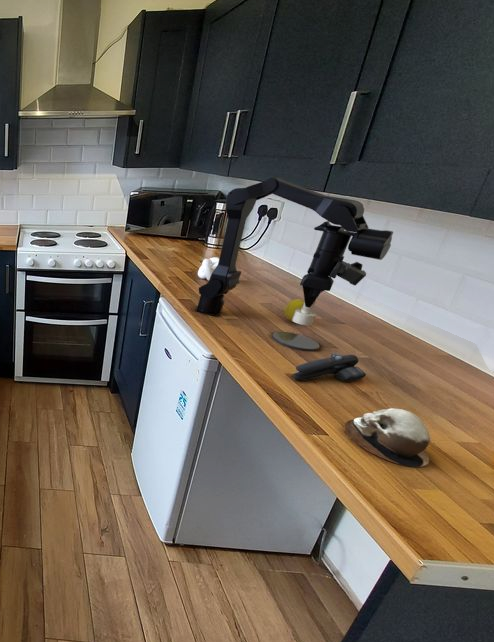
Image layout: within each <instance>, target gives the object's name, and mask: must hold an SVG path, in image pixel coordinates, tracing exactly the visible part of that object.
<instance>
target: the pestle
mask: <svg viewBox="0 0 494 642" xmlns="http://www.w3.org/2000/svg"><path fill="white" fill-rule="evenodd" d="M318 298H319V296H318V297H317V299H316V300H315V301H314V303H313V304H312V306H311V307H310V308H309V307H305V300H303V301H304V304H303V306H302V309H301V310H300V309H299V310H296V311H295V314H294V316H293V319H292V321H293V322H292V323H295V324H296V325H297V324H298V325H301V326H305V327H307V326H313V323H314V322H315V318H316V316H317V314H316V312H313V310H314V307H315V305H316V303H317V300H318Z"/></svg>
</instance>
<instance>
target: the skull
mask: <svg viewBox="0 0 494 642" xmlns="http://www.w3.org/2000/svg"><path fill="white" fill-rule="evenodd" d="M344 430H345V433H346V434H347V435H348V437H349V438H350V439H351V440H352V441H353V442H355V444H357V445H359V447H361V448H362V449H364V450H366V451H367V452H369V453H370V454H373V455H375V456H377V457H379V458H381V459H384V460H387V461H388V462H392V463H395V464H398V465H400V466H405V467H409V468H410V467H411V468H419V467H425V466H427V465H429V463H430V456H429V454H428V453H427V451H426V449H428V446H429V444H431V443H430V442H431V436H430V432H429V429H428V428H427V426H426V425H425V423H424V422H423V420H421V419H420V417H418V416H417V415H416V414H414V413H413V412H411V411H408V410H405V409H401V408H396V407H395V408H394V407H390V408H387V409H385V408H384V409H380V410H377V411H375V410H374V411H372V412H367V413H364V414H363V415H362V416H361V417H356V418H354V419H350V420H348V421H346V422H345V423H344Z"/></svg>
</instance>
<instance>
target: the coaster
mask: <svg viewBox="0 0 494 642" xmlns="http://www.w3.org/2000/svg"><path fill="white" fill-rule="evenodd" d="M271 338H272V340H274V341H275V342H276V343H278V344H280V345H281V346H285V347H288V348H291V349H294V350H299V351H305V352H313V351H318V350H319V349H320V344H319V343H318V342H317V341H316V340H314V339H312V338H310V337H308V336H305V335H303V334H299V333H295V332H290V331H276V332H274V333H272V337H271Z"/></svg>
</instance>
